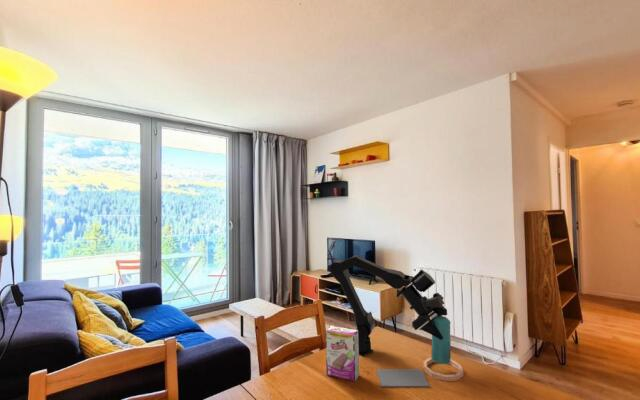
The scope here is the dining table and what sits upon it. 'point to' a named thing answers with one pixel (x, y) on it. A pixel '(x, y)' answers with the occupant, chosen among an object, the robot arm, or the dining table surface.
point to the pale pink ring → (441, 376)
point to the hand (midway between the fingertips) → (445, 336)
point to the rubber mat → (402, 378)
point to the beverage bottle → (442, 346)
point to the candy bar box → (342, 353)
